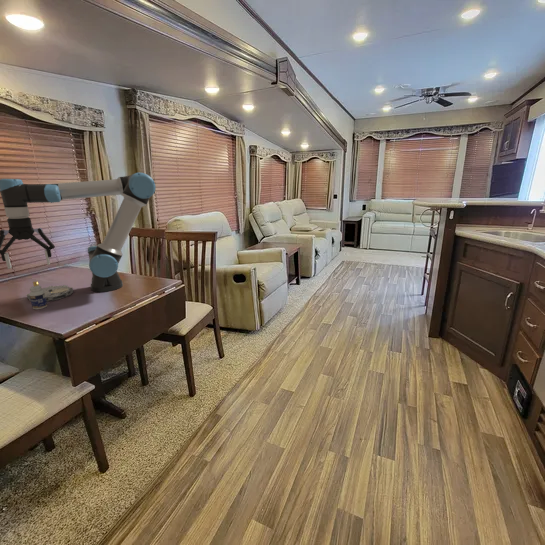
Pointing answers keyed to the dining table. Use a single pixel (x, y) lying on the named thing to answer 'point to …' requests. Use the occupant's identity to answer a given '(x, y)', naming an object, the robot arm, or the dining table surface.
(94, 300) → the dining table surface
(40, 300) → the pill bottle
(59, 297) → the base plate
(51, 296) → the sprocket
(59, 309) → the dining table surface
